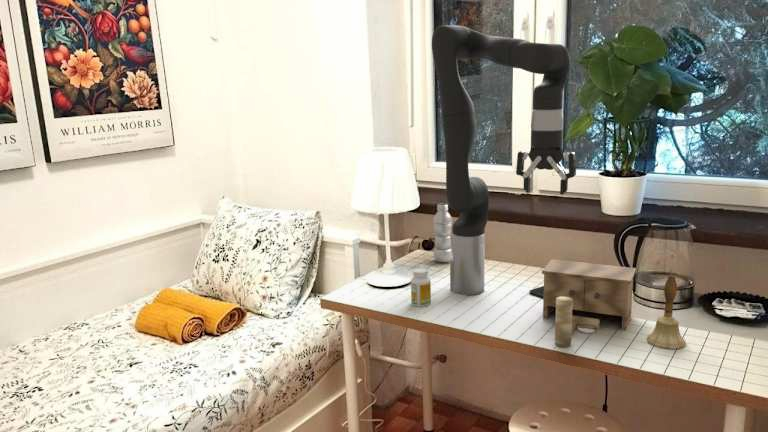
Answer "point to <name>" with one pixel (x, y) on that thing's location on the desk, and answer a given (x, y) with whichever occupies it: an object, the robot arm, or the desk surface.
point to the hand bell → (667, 322)
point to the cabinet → (589, 288)
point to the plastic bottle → (442, 234)
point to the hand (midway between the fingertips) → (545, 193)
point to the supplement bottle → (420, 288)
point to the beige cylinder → (568, 322)
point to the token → (586, 328)
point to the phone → (538, 292)
